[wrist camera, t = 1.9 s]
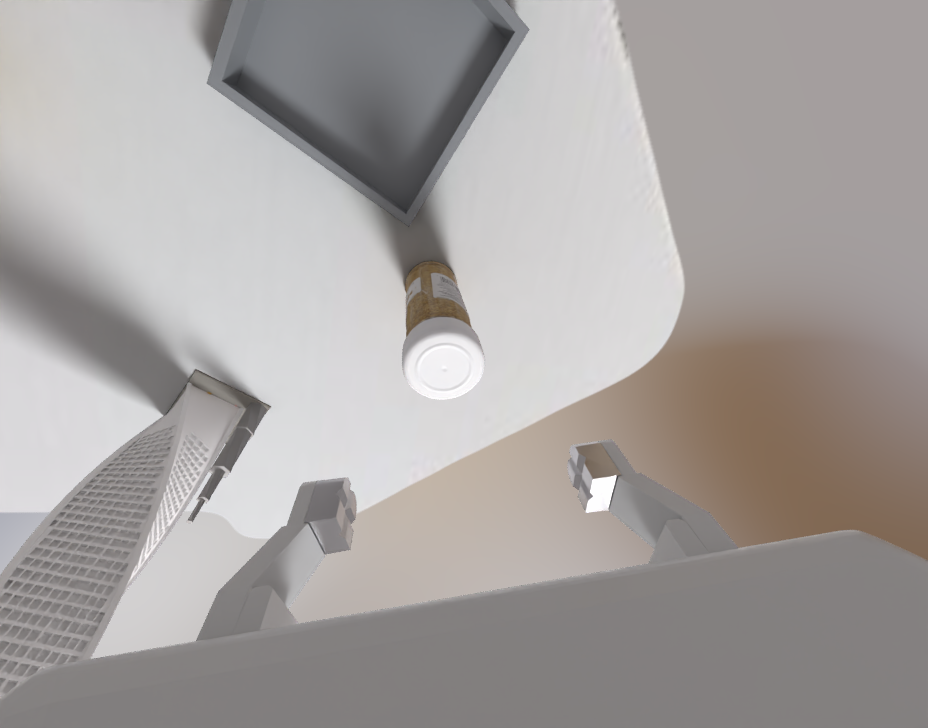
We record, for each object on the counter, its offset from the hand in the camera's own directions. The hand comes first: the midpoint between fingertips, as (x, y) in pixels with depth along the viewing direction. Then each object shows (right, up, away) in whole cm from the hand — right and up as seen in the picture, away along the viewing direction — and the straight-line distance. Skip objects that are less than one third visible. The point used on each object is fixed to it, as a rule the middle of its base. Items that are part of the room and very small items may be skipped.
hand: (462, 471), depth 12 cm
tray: (-6, +23, +9) cm, 25 cm away
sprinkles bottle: (-3, +11, +17) cm, 21 cm away
